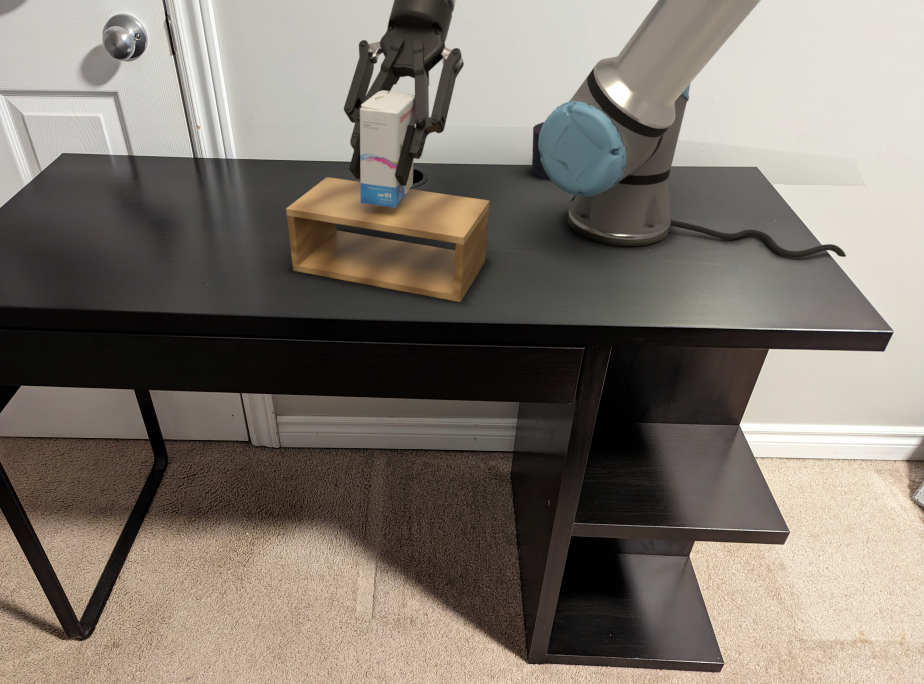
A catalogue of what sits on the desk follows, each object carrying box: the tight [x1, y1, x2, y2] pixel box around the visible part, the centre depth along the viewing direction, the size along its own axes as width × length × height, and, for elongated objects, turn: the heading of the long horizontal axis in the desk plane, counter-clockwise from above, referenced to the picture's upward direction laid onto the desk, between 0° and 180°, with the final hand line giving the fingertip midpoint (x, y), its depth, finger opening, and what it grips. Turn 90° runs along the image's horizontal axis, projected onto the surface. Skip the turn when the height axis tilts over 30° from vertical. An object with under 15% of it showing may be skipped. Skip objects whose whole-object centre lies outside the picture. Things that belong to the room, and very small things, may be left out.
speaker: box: [531, 121, 551, 180], centre depth 120 cm, size 8×6×10 cm
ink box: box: [359, 90, 416, 208], centre depth 85 cm, size 9×5×12 cm, turn 165°
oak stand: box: [285, 176, 491, 303], centre depth 92 cm, size 24×12×9 cm, turn 70°
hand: (377, 177), depth 83 cm, fingers closed on ink box, 5 cm apart
